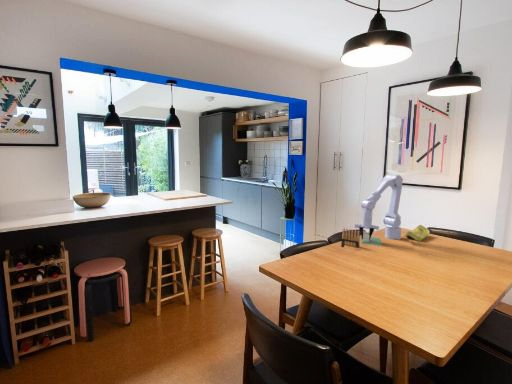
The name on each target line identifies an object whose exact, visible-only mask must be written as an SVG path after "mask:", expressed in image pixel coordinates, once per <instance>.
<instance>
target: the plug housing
mask: <svg viewBox="0 0 512 384" xmlns="http://www.w3.org/2000/svg"><path fill="white" fill-rule="evenodd" d="M363 242H369V231H363Z"/></svg>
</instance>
